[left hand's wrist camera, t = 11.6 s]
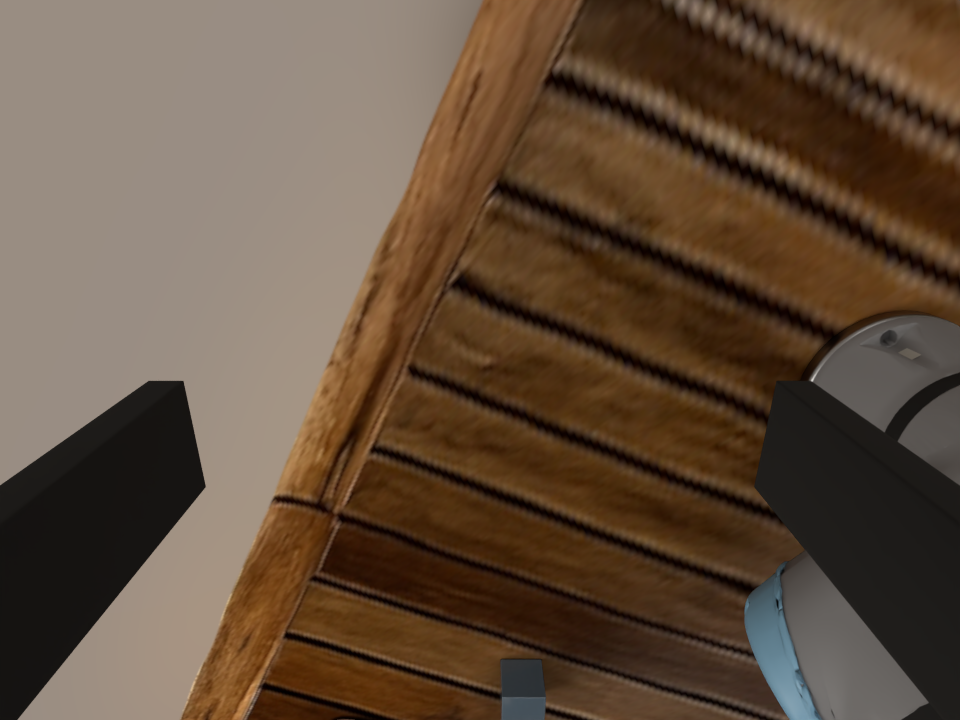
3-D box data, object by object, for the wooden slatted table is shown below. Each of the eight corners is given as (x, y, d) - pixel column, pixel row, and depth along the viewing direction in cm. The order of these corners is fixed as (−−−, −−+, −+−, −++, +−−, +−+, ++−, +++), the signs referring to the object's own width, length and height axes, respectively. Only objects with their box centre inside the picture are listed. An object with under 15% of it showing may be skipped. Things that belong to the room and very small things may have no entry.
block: (541, 659, 61) (546, 697, 56) (539, 692, 62) (543, 732, 58) (500, 659, 61) (501, 697, 56) (499, 692, 62) (501, 732, 58)
